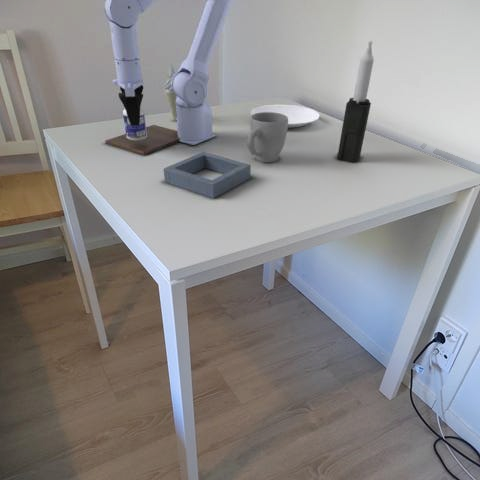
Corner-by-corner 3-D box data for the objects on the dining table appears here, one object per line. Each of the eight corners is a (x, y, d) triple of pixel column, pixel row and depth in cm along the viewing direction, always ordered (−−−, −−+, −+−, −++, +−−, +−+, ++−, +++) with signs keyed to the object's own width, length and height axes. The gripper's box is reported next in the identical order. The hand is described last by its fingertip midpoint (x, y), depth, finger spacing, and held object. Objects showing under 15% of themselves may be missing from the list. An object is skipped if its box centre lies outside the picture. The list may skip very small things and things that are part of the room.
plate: (246, 112, 137) (246, 104, 136) (309, 111, 139) (310, 104, 138) (255, 132, 122) (255, 123, 120) (326, 131, 124) (327, 123, 122)
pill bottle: (127, 134, 111) (122, 96, 105) (148, 134, 111) (143, 96, 106) (125, 140, 107) (119, 102, 101) (146, 140, 107) (141, 102, 101)
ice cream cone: (180, 123, 126) (176, 65, 116) (164, 122, 127) (159, 64, 117) (185, 118, 130) (182, 62, 120) (169, 117, 131) (165, 61, 121)
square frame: (203, 164, 102) (203, 151, 100) (250, 178, 96) (250, 164, 94) (164, 182, 93) (163, 168, 91) (213, 198, 88) (213, 184, 86)
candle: (360, 156, 108) (384, 40, 92) (356, 163, 105) (380, 43, 89) (341, 153, 110) (361, 38, 94) (336, 159, 106) (356, 41, 90)
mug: (263, 149, 110) (265, 109, 104) (291, 158, 106) (295, 117, 100) (233, 162, 103) (234, 120, 97) (262, 171, 99) (265, 128, 93)
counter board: (154, 127, 123) (153, 124, 122) (191, 137, 117) (190, 134, 116) (105, 143, 111) (105, 140, 111) (143, 155, 105) (143, 152, 105)
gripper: (111, 53, 103) (120, 113, 111) (107, 64, 92) (117, 130, 101) (140, 53, 104) (147, 113, 112) (140, 64, 93) (147, 129, 102)
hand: (135, 121), depth 107 cm, fingers closed on pill bottle, 5 cm apart
